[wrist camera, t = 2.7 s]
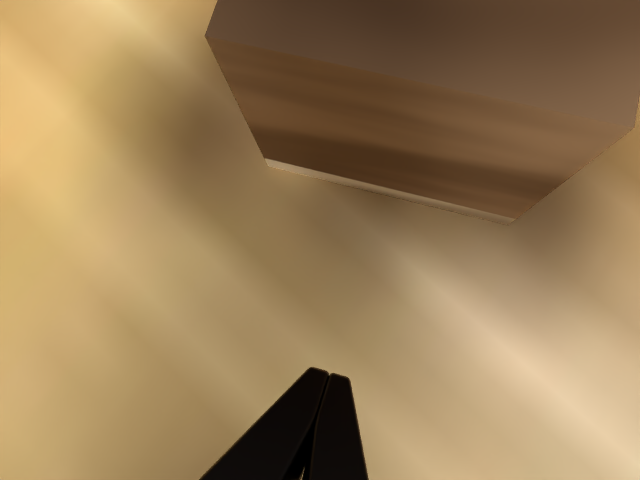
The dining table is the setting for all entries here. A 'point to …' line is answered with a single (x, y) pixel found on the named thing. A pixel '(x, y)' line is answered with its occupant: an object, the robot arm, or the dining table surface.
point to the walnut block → (434, 92)
